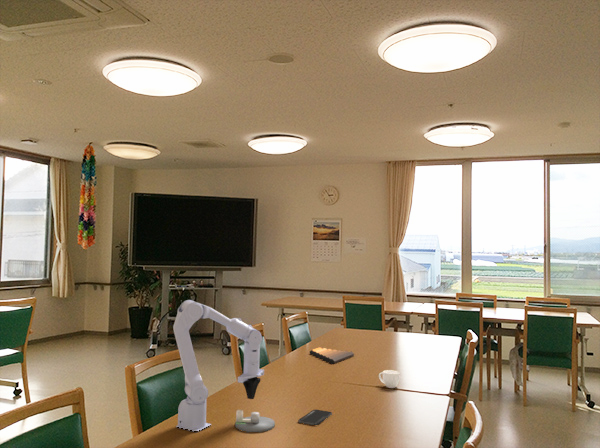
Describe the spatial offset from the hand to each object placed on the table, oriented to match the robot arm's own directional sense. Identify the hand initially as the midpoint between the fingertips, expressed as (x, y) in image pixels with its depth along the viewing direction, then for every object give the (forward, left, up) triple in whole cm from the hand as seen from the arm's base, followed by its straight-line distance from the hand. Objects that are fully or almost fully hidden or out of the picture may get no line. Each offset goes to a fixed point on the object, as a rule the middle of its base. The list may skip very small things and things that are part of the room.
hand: (250, 398), depth 185 cm
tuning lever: (+3, -6, -6) cm, 9 cm away
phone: (+20, +14, -8) cm, 26 cm away
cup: (+29, +71, -8) cm, 77 cm away
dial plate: (+5, -4, -8) cm, 10 cm away
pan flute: (-23, +112, -8) cm, 115 cm away
